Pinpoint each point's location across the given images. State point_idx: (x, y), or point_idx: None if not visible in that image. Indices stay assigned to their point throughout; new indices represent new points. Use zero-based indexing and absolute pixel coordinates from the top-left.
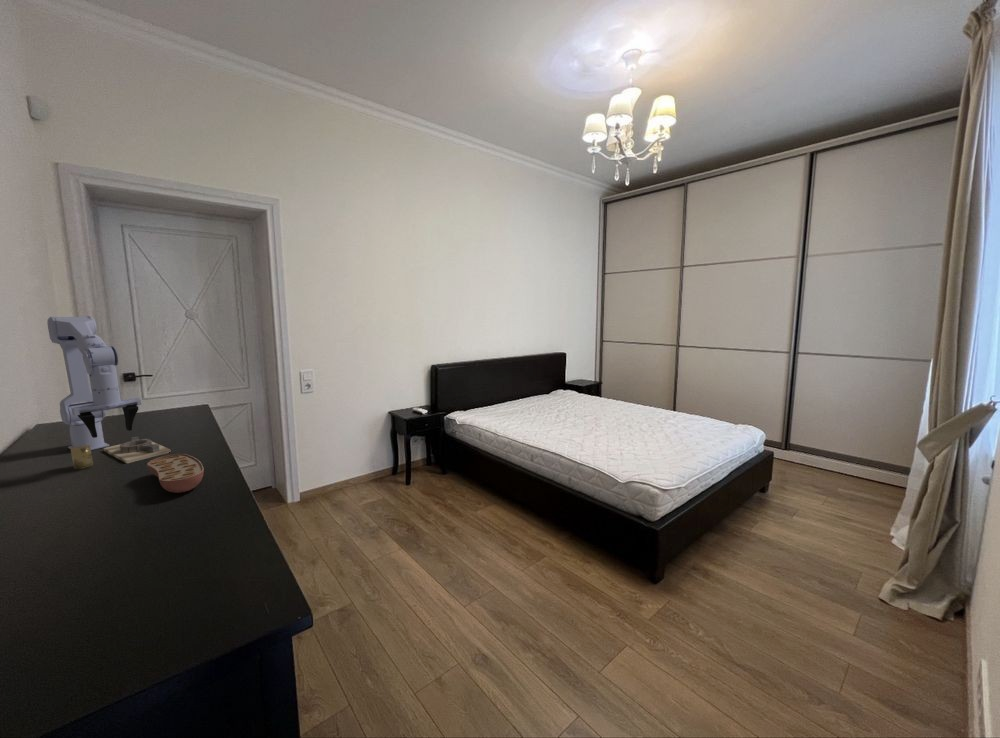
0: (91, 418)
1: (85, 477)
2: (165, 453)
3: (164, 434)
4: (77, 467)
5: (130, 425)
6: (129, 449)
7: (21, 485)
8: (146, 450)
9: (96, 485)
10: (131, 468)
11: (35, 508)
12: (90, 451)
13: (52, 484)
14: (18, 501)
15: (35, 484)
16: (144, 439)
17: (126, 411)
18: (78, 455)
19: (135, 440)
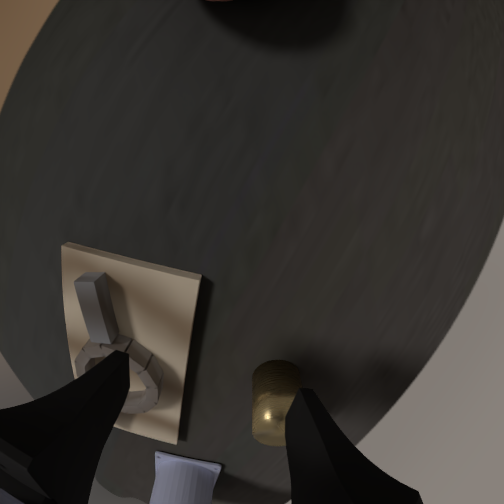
0: (375, 495)
1: (346, 263)
2: (81, 245)
3: None
4: (298, 372)
5: (104, 368)
6: (146, 360)
7: (414, 358)
8: (111, 312)
9: (383, 134)
10: (227, 193)
11: (498, 140)
12: (260, 403)
13: (405, 294)
14: (485, 237)
15: (408, 337)
16: None
17: (68, 474)
18: None
19: None
